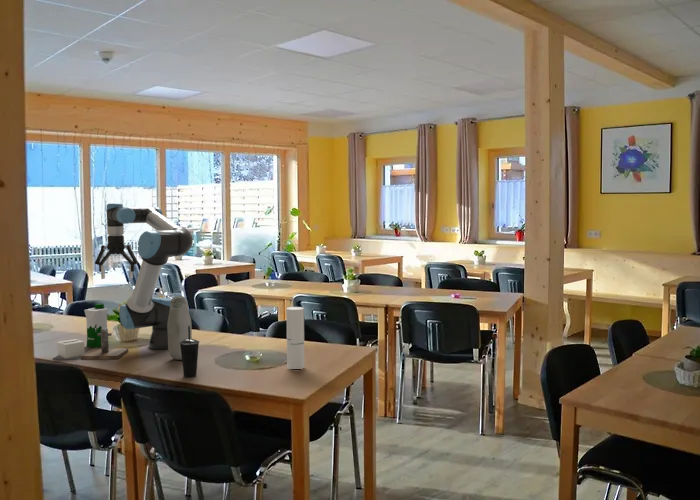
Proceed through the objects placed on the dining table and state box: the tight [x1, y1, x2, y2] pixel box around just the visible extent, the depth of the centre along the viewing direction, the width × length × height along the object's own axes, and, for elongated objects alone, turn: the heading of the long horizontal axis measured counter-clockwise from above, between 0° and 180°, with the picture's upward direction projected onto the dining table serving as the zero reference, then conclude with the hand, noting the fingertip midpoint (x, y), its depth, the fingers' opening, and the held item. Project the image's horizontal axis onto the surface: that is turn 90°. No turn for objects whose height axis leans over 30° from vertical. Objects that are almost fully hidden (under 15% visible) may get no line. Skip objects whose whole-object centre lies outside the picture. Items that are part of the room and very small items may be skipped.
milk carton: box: [84, 303, 109, 349], centre depth 305 cm, size 9×9×20 cm
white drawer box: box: [57, 338, 85, 358], centre depth 285 cm, size 8×8×6 cm
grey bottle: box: [167, 295, 193, 361], centre depth 278 cm, size 10×10×28 cm
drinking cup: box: [179, 326, 200, 379], centre depth 251 cm, size 8×8×20 cm
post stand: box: [80, 327, 129, 360], centre depth 286 cm, size 16×14×12 cm
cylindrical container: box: [285, 306, 305, 370], centre depth 262 cm, size 7×7×25 cm
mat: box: [52, 351, 88, 360], centre depth 285 cm, size 11×11×1 cm
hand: (117, 278), depth 310 cm, fingers open, 13 cm apart
